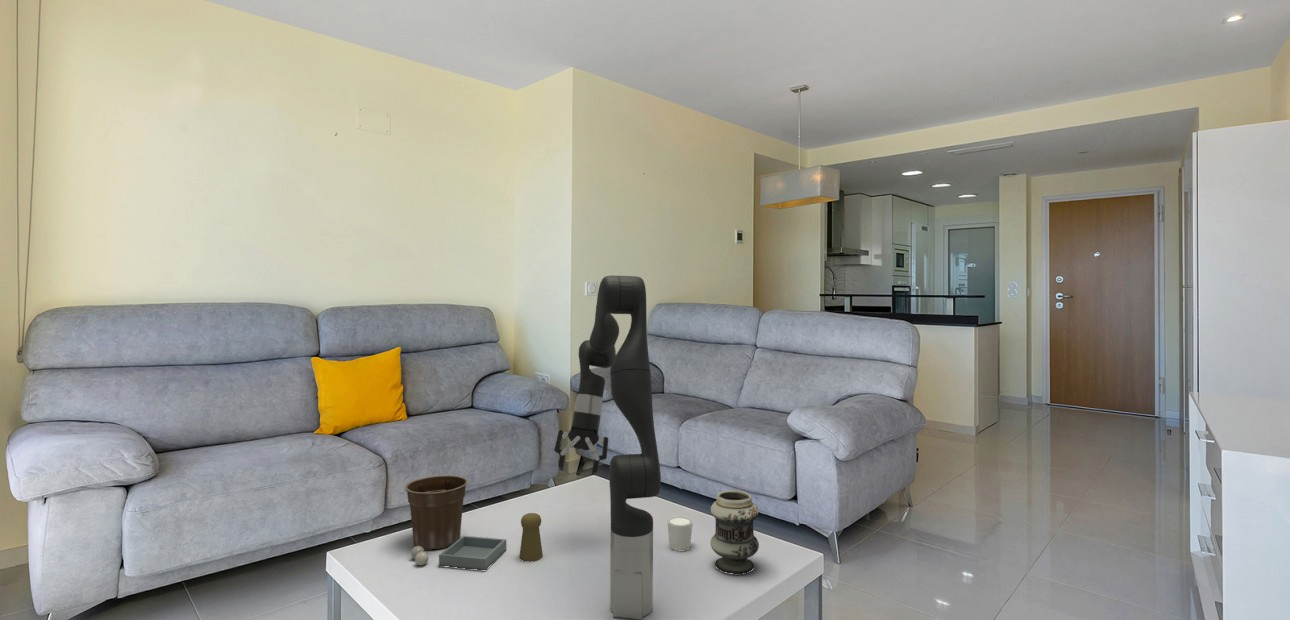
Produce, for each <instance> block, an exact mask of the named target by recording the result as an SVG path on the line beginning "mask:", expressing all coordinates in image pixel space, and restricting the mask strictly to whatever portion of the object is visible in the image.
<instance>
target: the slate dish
mask: <svg viewBox="0 0 1290 620" xmlns="http://www.w3.org/2000/svg"><path fill="white" fill-rule="evenodd" d="M505 551H506V552H507V539H506V538H505V539H504V538H496V537H483V536H480V537H479V536H470V535H462V536H460V539H458V540H457V541H456V542H455V543H453V544H450V545H449V546H448V547H446V548H445V549H444V550H443V551H442V552H441V553H440V554H438V567H439V566H449V567H457V568H465V569H477V570H486V569H487V568H488V567H489V566H490V565H491V564H492V563H493V562H494V563H495V562H496V561H498V559H499V558H500V557H502V556H503V555H504V554H505V553H506V552H505ZM504 552H505V553H504ZM503 553H504V554H503ZM494 563H493V564H494ZM493 564H492V565H493ZM492 565H491V566H492ZM491 566H490V567H491ZM490 567H489V568H490ZM489 568H488V569H489ZM465 569H464V570H465ZM488 569H487V570H488ZM487 570H486V571H487Z"/></svg>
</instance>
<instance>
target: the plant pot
mask: <svg viewBox="0 0 1290 620" xmlns="http://www.w3.org/2000/svg"><path fill="white" fill-rule="evenodd" d="M467 486H468V480H467V478H465V477H462V476H457V475H434V476H426V477H423V478H419V479H415V480H413V481H411V482H408V483H407V484H406V485H405V487H404V488H405V491H406V494H407V501H408V503H409V508H410V509H409V510H410V511H409V512H410V520H411V530H412V539H413V540H412V543H413V546H414V547H416V546H421V547H423V549H427V550H426V551H433V550H432V549H437V550H441V548H442V549H447V548H448V547H450V546H451V545H452V544H453V543H455V542H456V541H457V540H458V539H460V538H461V531H462V520H463V519H462V518H463V508H464V498H465V496H466V490H467Z"/></svg>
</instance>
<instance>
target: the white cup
mask: <svg viewBox="0 0 1290 620" xmlns="http://www.w3.org/2000/svg"><path fill="white" fill-rule="evenodd" d="M667 530H668V531H667V532H668V533H667V534H668V543H669V546H668V547H669V549H670V550H672V549H674V550H673V551H675V550H678V551H677V552H680V551H679V550H686V551H688V550H689V549H688V548H690V549H691V544H692V542H691V540H692V533H693V532H692V531H693V520H692V519H690V518H688V517H683V516H676V517H671V518H669V519H667ZM687 549H688V550H687Z"/></svg>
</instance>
